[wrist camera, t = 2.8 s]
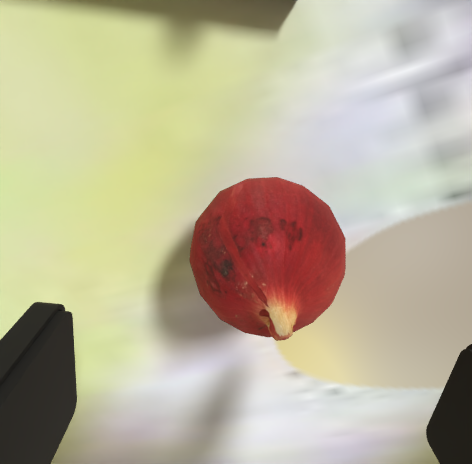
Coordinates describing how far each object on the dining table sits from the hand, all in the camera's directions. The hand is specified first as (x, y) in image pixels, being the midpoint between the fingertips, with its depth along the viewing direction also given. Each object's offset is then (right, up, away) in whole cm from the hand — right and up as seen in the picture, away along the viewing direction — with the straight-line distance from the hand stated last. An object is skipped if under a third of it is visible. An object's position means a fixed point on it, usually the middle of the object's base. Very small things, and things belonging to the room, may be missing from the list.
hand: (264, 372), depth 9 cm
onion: (+1, +4, +9) cm, 10 cm away
